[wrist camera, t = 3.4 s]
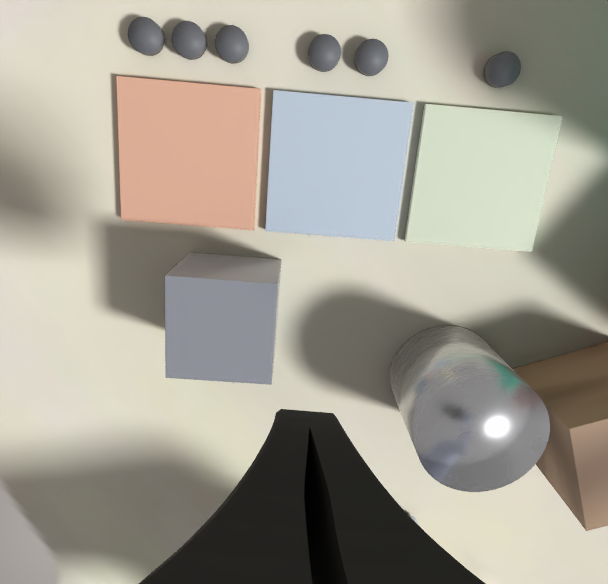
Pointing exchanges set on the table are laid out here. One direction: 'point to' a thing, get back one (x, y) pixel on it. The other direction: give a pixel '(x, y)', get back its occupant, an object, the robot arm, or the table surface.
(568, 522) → the table surface
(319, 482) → the robot arm
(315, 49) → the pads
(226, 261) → the marker cube
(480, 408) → the grey tin
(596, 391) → the walnut block
